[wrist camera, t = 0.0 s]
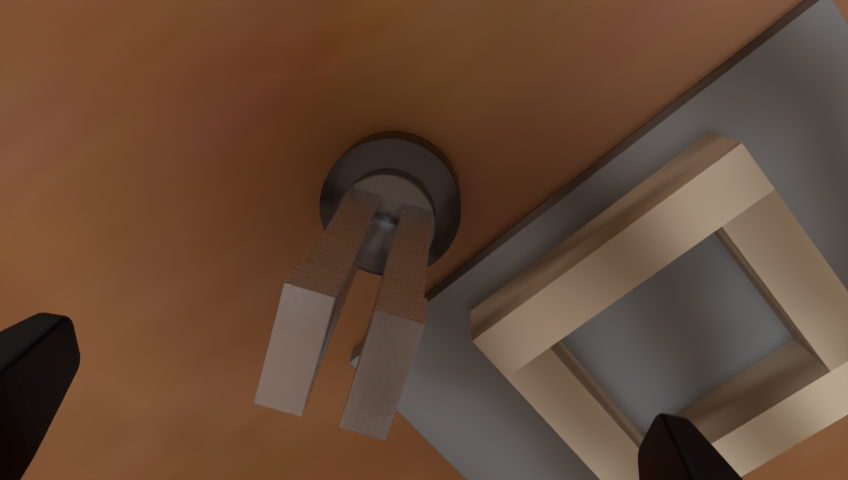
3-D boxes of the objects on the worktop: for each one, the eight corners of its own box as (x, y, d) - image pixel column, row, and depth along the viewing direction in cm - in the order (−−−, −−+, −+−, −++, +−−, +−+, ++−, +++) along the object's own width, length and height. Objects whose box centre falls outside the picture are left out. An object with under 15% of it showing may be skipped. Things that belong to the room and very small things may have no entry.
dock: (548, 548, 30) (560, 613, 27) (353, 350, 27) (339, 396, 23) (992, 279, 24) (1077, 318, 21) (811, -5, 21) (877, -12, 18)
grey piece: (477, 154, 24) (505, 288, 11) (437, 273, 25) (423, 500, 13) (348, 113, 23) (235, 205, 11) (316, 236, 25) (187, 433, 13)
